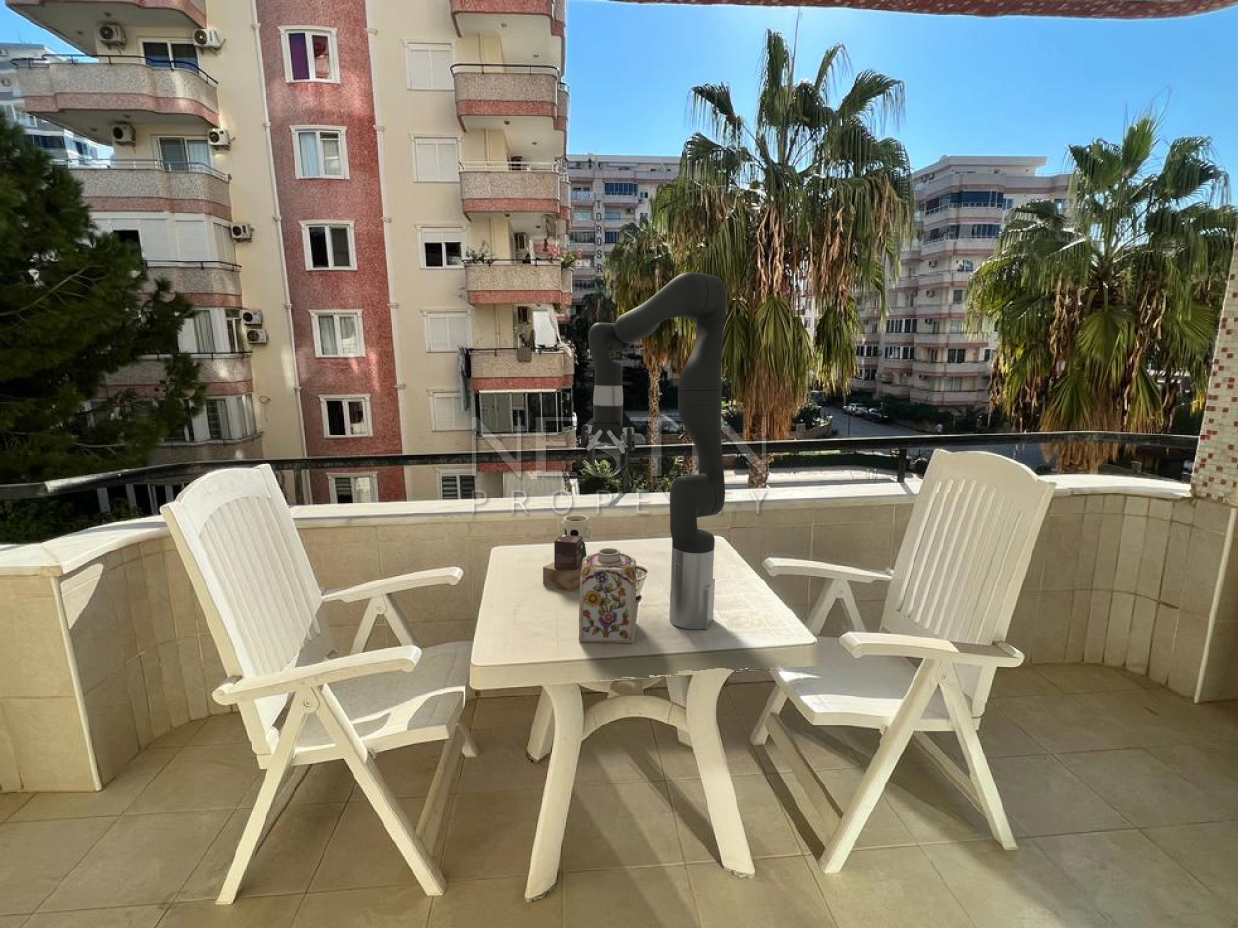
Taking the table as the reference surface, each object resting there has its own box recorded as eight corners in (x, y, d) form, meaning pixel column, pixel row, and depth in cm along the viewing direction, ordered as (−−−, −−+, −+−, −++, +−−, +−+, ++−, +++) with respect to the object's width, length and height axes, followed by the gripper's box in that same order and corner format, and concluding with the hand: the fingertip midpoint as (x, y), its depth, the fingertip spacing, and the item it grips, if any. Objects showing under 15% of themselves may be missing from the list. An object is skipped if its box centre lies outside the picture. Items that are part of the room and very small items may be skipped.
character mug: (553, 561, 170) (553, 517, 168) (569, 555, 176) (569, 512, 174) (583, 569, 164) (583, 524, 162) (598, 562, 170) (599, 518, 168)
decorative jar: (635, 644, 121) (637, 560, 118) (578, 643, 121) (578, 559, 118) (634, 619, 133) (636, 542, 130) (582, 618, 133) (583, 541, 130)
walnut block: (591, 582, 156) (592, 564, 155) (570, 593, 148) (570, 574, 147) (564, 575, 161) (565, 557, 160) (543, 585, 153) (543, 566, 152)
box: (576, 570, 150) (576, 542, 149) (553, 568, 151) (553, 540, 150) (583, 562, 156) (583, 536, 155) (561, 561, 157) (561, 534, 156)
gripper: (639, 403, 152) (637, 465, 155) (588, 401, 157) (587, 461, 160) (629, 405, 145) (627, 470, 148) (576, 403, 150) (576, 465, 153)
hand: (607, 465), depth 154 cm, fingers open, 8 cm apart
